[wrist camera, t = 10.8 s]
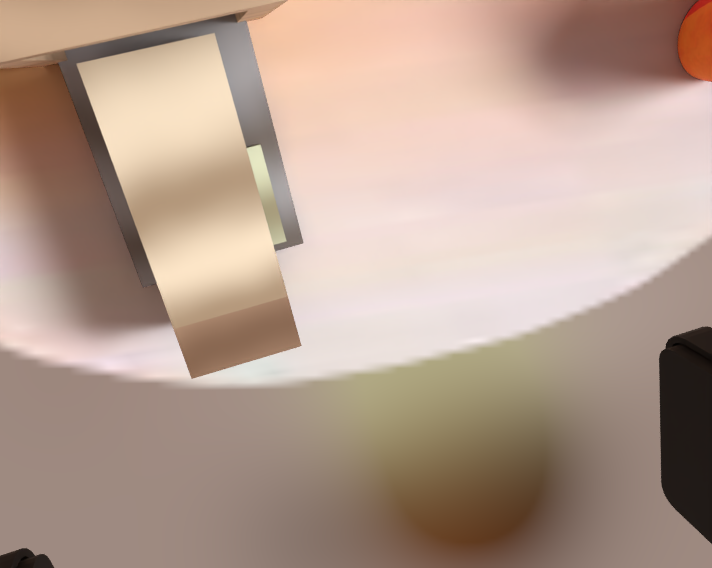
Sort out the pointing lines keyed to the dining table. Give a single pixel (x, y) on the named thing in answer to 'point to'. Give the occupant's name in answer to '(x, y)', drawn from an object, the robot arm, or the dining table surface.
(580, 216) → the dining table surface
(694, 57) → the paper cup
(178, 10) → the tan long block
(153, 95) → the block
